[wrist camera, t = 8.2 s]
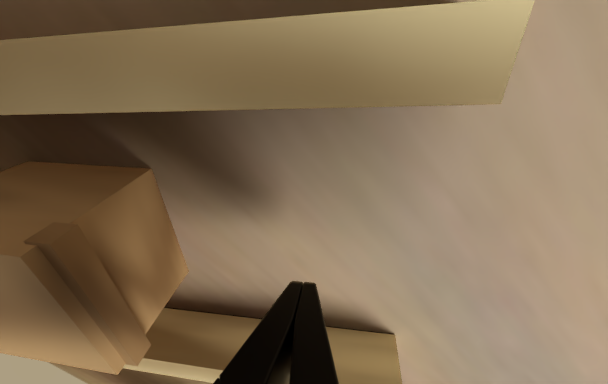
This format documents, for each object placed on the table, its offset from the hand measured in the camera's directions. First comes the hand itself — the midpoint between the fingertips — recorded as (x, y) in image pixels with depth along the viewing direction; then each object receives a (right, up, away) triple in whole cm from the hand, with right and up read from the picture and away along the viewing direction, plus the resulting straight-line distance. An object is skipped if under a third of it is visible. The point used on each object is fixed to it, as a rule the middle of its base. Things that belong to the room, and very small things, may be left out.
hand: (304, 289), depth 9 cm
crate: (-9, +2, +4) cm, 10 cm away
